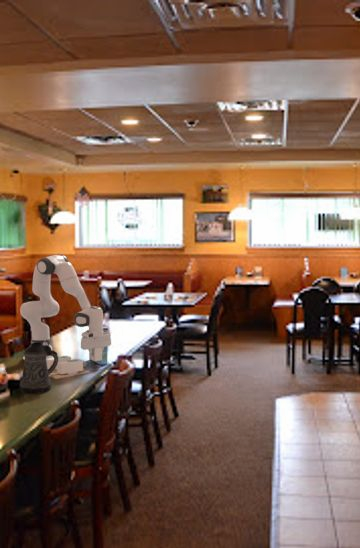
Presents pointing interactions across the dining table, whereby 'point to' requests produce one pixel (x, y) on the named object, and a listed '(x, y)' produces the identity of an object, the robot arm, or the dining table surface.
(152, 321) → the dining table surface
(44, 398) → the dining table surface
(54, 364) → the beer stein
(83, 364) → the loose relay
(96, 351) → the module block
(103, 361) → the blue cardboard box
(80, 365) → the rail board
